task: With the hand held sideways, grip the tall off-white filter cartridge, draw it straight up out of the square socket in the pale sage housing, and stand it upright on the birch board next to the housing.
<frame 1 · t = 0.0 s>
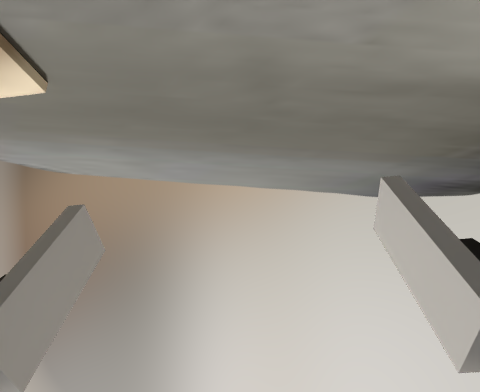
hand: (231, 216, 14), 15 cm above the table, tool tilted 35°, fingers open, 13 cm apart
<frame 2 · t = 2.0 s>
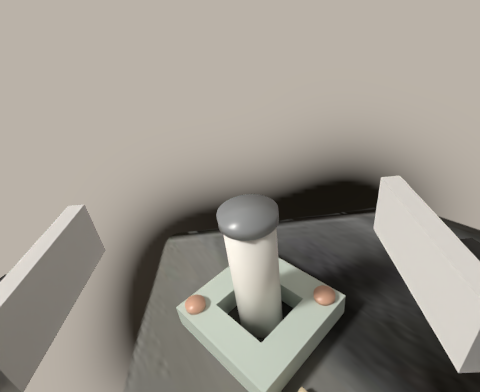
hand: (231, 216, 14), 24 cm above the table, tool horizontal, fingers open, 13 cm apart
housing: (261, 317, 37), on the table
cartridge: (261, 317, 37), resting in housing
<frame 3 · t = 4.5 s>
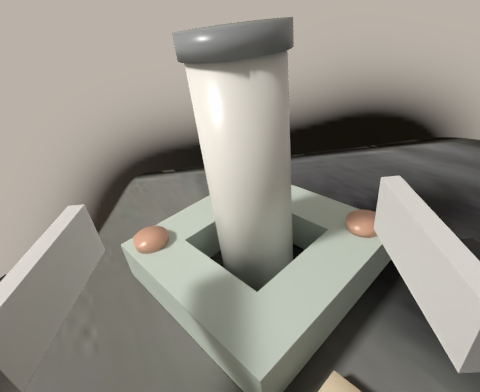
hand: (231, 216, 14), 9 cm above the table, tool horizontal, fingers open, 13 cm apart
housing: (258, 265, 23), on the table
cartridge: (258, 265, 23), resting in housing
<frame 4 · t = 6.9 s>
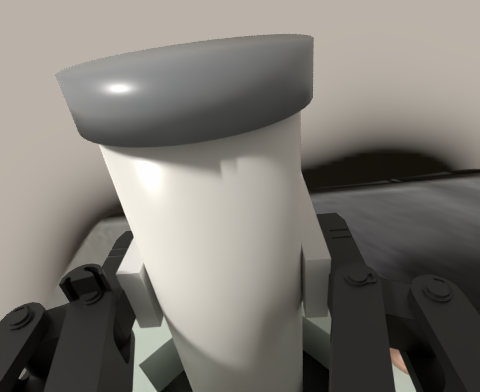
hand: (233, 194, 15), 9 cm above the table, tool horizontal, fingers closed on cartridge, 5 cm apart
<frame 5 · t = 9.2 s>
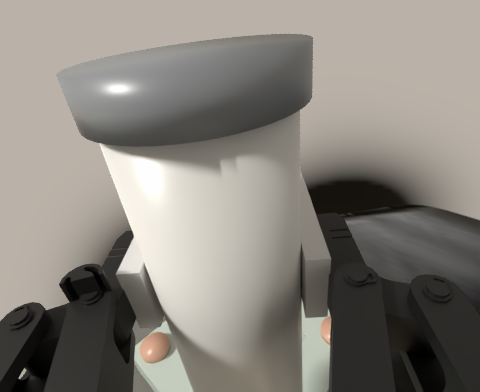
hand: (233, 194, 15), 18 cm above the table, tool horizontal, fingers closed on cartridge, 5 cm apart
housing: (248, 361, 27), on the table
cartridge: (251, 391, 16), point 10 cm above the table, touching gripper
when the fingers open (11 cm above the table, at t = 11.7 s): cartridge drops 1 cm, resting on board.
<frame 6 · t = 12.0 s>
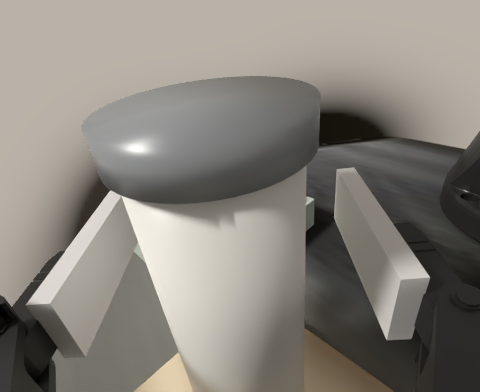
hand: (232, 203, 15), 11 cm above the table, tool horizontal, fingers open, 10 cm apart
housing: (215, 232, 31), on the table
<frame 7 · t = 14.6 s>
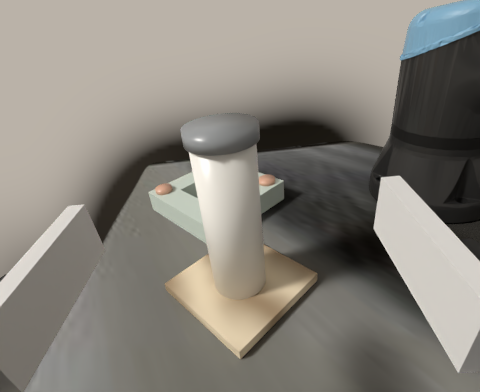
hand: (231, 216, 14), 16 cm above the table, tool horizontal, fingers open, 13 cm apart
board: (240, 285, 31), on the table
housing: (217, 204, 45), on the table
cartridge: (240, 278, 31), point 1 cm above the table, touching board
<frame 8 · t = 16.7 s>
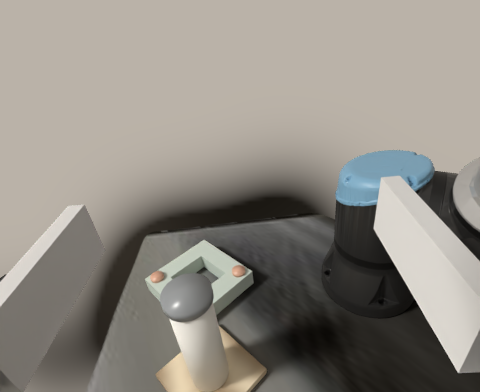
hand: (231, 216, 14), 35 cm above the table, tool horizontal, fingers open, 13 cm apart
board: (211, 375, 42), on the table
housing: (200, 286, 56), on the table
cartridge: (210, 371, 42), point 1 cm above the table, touching board
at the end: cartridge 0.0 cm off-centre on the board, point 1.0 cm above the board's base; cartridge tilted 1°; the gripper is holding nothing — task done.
